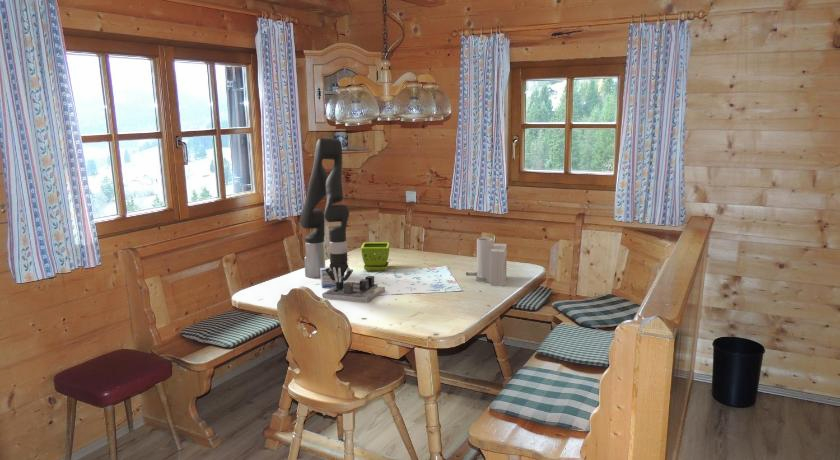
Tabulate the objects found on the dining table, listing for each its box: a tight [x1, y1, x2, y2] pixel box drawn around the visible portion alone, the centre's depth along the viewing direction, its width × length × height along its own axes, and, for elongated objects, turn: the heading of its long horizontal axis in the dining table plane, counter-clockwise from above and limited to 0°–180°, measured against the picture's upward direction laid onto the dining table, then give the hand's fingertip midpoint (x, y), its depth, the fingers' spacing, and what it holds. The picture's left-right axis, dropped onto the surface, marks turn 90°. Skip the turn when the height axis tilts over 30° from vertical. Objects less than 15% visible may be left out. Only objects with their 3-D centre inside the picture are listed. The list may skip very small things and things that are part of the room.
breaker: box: [343, 281, 354, 294], centre depth 270 cm, size 3×3×5 cm
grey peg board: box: [321, 275, 386, 304], centre depth 275 cm, size 22×18×7 cm
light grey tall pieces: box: [465, 237, 508, 287], centre depth 293 cm, size 16×19×20 cm
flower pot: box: [360, 241, 391, 272], centre depth 318 cm, size 14×14×13 cm
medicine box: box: [320, 267, 336, 289], centre depth 289 cm, size 8×4×9 cm, turn 105°
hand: (339, 289), depth 271 cm, fingers closed
